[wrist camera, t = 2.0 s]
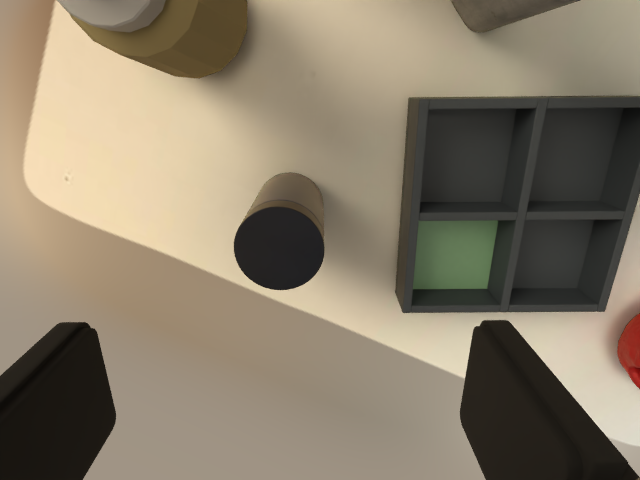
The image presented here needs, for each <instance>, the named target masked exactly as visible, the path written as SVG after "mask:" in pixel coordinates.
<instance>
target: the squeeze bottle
mask: <svg viewBox="0 0 640 480" xmlns="http://www.w3.org/2000/svg"><path fill="white" fill-rule="evenodd" d="M57 1H58V2H59V3H60V4H61V5H62V6H63V7H64V8H65V9H66V11H67V12H68V13H69V14H70V15H71V17H72V19H73V20H74V21H75V22H76V23H77V24H78V25H79V26H80V27H81V28H82V29H83V30H84V31H85V32H86V33H87V34H88V36H89V37H90V38H91V39H92V40H93V41H95V42H97V43H99V44H100V45H102V46H104V47H106V48H108V49H110V50H112V51H114V52H116V53H118V54H120V55H122V56H125V57H127V58H130V59H132V60H135V61H137V62H140V63H143V64H145V65H148V66H150V67H153V68H155V69H158V70H160V71H163V72H166V73H168V74H171V75H173V76H178V77H188V78H202V77H204V76H207V75H210V74H213V73H216V72H219V71H221V70H222V69H223V68H224V67H225V66H226V65H227V64H228V63H229V62H230V61H231V60H232V59H233V58H234V57H235V56H236V55H237V53H238V51H239V48H240V46H241V43H242V41H243V38H244V36H245V34H246V31H247V0H57Z"/></svg>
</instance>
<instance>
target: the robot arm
mask: <svg viewBox="0 0 640 480" xmlns="http://www.w3.org/2000/svg"><path fill="white" fill-rule="evenodd" d="M460 419H461V423H462V426H463V429H464V431H465V433H466V435H467V438H468V440H469V442H470V445H471V447H472V449H473V452H474V454H475V456H476V458H477V460H478V463H479V465H480V467H481V470H482V472H483V474H484V476H485V479H486V480H640V477H639V476H638V475H637V474H636V473H635V471H634V470H633V469H632V468H631V467H630V465H629V464H628V462H627V460H626V459H625V458H624V457H623V456H622V454H621V453H620V452H619V451H618V450H617V448H616V447H615V446H614V445H613V444H612V443H611V441H610V440H609V439H608V438H607V437H606V435H605V434H604V433H603V432H602V431H601V430H600V428H599V427H598V426H597V425H596V424H595V422H594V421H593V420H592V419H591V418H590V416H589V415H588V414H587V413H586V412H585V411H584V409H583V408H582V407H581V406H580V405H579V403H578V402H577V401H576V400H575V399H574V398H573V396H572V395H571V394H570V393H569V392H568V390H567V389H566V388H565V387H564V386H563V384H562V383H561V382H560V381H559V380H558V379H557V377H556V376H555V375H554V374H553V373H552V371H551V370H550V369H549V368H548V367H547V366H546V364H545V363H544V362H543V361H542V360H541V358H540V357H539V356H538V355H537V354H536V352H535V351H534V350H533V349H532V348H531V347H530V345H529V344H528V343H527V342H526V341H525V339H524V338H523V337H522V336H521V335H520V333H519V332H518V331H517V330H516V329H515V328H514V326H513V325H512V324H511V323H510V322H509V321H506V320H484V321H482V323H481V324H480V326H476V327H475V328H474V330H473V335H472V341H471V347H470V353H469V359H468V365H467V371H466V377H465V384H464V390H463V396H462V402H461V408H460ZM115 420H116V411H115V407H114V403H113V399H112V394H111V390H110V386H109V382H108V377H107V373H106V369H105V364H104V360H103V356H102V352H101V348H100V343H99V339H98V334H97V332H96V330H95V329H93V328H90V326H89V324H88V323H85V322H78V323H77V322H66V323H65V322H64V323H59V324H57V325H56V326H55V327H54V328H52V329H51V330H50V331H49V332H48V333H47V334H46V335H45V336H44V337H43V338H41V339H40V340H39V341H38V342H37V343H36V344H35V345H34V346H33V347H32V348H31V349H29V350H28V351H27V352H26V353H25V354H24V355H23V356H22V357H21V358H19V359H18V360H17V361H16V362H15V363H14V364H13V365H12V366H11V367H10V368H9V369H7V370H6V371H5V372H4V373H3V374H2V375H1V376H0V480H83V478H84V476H85V475H86V473H87V472H88V470H89V468H90V466H91V465H92V463H93V461H94V460H95V458H96V456H97V455H98V453H99V451H100V450H101V448H102V446H103V445H104V443H105V441H106V439H107V438H108V436H109V435H110V433H111V431H112V429H113V427H114V425H115Z"/></svg>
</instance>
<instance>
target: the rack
mask: <svg viewBox="0 0 640 480" xmlns="http://www.w3.org/2000/svg"><path fill="white" fill-rule="evenodd" d="M639 194H640V96H533V97H422V98H409V101H408V116H407V130H406V145H405V159H404V173H403V188H402V202H401V217H400V231H399V246H398V260H397V275H396V289H395V293H396V295H397V298H398V301H399V304H400V306H401V309H402V312H403V313H448V312H596V311H597V312H605V309H606V306H607V302H608V299H609V296H610V292H611V289H612V285H613V282H614V279H615V275H616V272H617V268H618V265H619V262H620V258H621V255H622V251H623V248H624V245H625V241H626V238H627V234H628V231H629V228H630V224H631V221H632V217H633V214H634V211H635V207H636V204H637V200H638V197H639Z"/></svg>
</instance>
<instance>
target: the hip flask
mask: <svg viewBox="0 0 640 480" xmlns="http://www.w3.org/2000/svg"><path fill="white" fill-rule="evenodd" d="M451 1H452V3H453V5H454V7H455V8H456V10H457V12H458V13H459V15H460V16H461V18H462V20H463V21H464V23H465V24H466V26H467V27H468V28H470V29H471V30H473V31H475V32H486V31H489V30H492V29H495V28H498V27H501V26H504V25H507V24H510V23H513V22H516V21H519V20H522V19H526V18H529V17H532V16H535V15H538V14H541V13H544V12H547V11H550V10H553V9H556V8H559V7H562V6H565V5H568V4H571V3H574V2H577V1H580V0H451Z"/></svg>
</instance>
